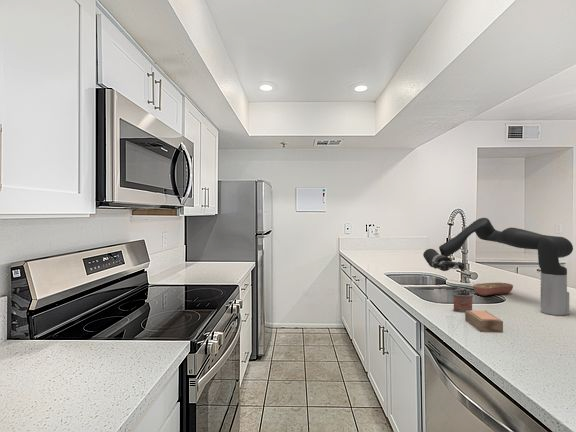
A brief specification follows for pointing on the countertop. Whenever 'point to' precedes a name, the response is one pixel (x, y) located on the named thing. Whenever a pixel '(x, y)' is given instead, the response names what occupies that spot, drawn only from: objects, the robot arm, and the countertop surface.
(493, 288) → the mitochondrion cross-section
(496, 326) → the wooden block
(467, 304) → the lighter
